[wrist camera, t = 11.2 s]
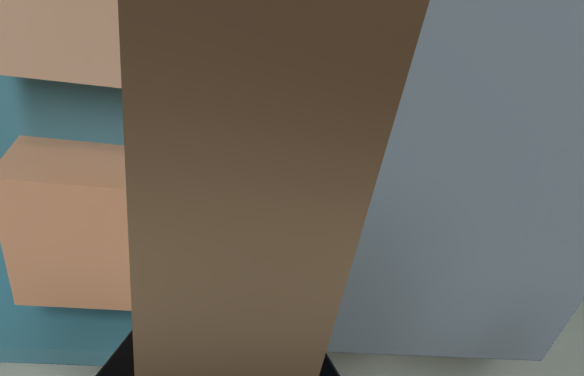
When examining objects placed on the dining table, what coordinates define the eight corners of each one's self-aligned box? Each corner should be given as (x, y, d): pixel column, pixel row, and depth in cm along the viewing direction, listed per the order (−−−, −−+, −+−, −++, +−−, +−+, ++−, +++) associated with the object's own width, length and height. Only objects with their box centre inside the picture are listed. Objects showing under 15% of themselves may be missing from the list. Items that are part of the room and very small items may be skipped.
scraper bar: (242, 469, 15) (237, 651, 11) (172, 468, 14) (147, 655, 11) (373, -240, 6) (534, -357, 2) (194, -278, 5) (96, -473, 2)
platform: (510, 306, 23) (541, 360, 21) (256, 291, 22) (256, 348, 19) (772, -153, 13) (890, -152, 11) (339, -245, 12) (363, -269, 9)
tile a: (179, 263, 19) (171, 312, 17) (40, 255, 18) (14, 304, 16) (183, 150, 16) (173, 193, 14) (19, 135, 15) (-15, 177, 13)
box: (249, 291, 22) (249, 371, 18) (-76, 272, 20) (-141, 356, 17) (327, -248, 12) (356, -284, 8) (-310, -383, 10) (-590, -497, 7)
